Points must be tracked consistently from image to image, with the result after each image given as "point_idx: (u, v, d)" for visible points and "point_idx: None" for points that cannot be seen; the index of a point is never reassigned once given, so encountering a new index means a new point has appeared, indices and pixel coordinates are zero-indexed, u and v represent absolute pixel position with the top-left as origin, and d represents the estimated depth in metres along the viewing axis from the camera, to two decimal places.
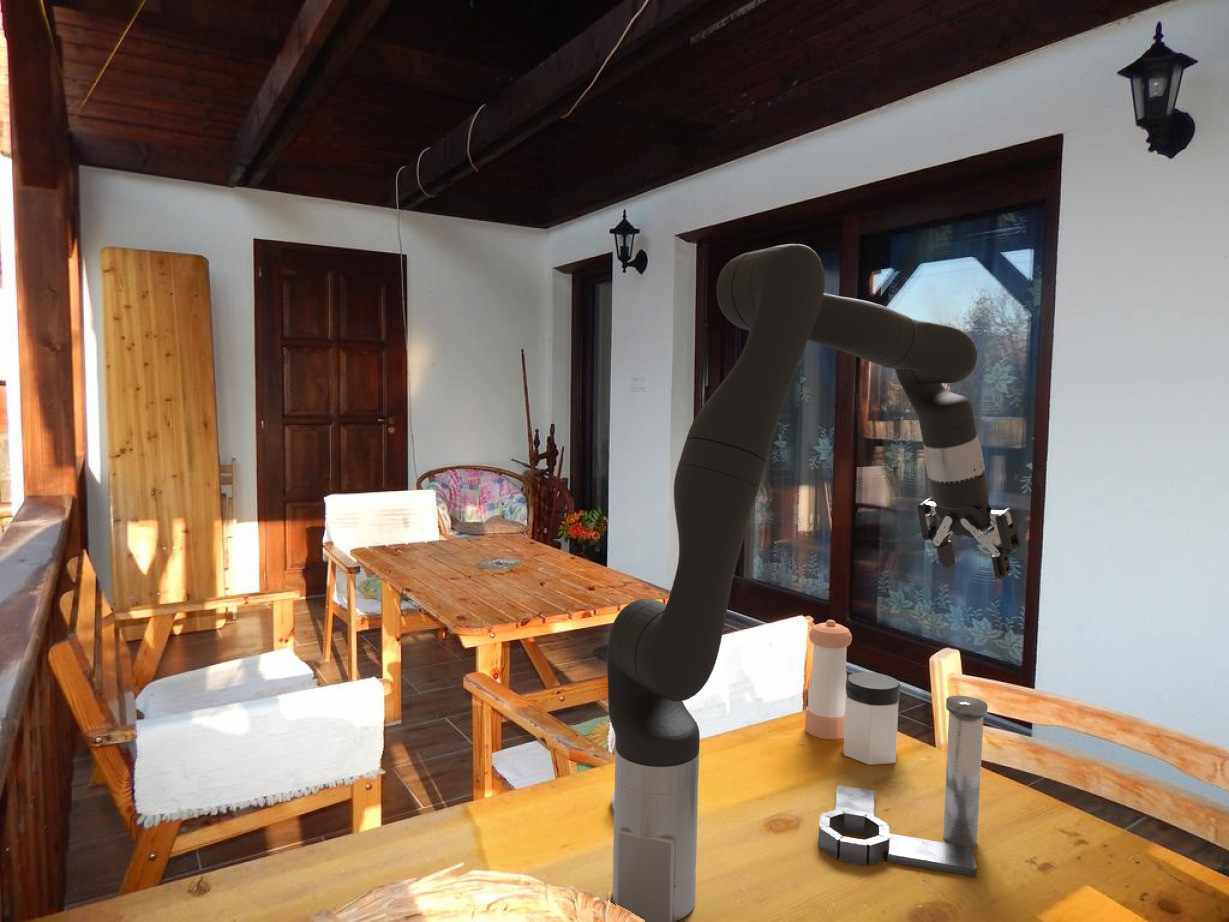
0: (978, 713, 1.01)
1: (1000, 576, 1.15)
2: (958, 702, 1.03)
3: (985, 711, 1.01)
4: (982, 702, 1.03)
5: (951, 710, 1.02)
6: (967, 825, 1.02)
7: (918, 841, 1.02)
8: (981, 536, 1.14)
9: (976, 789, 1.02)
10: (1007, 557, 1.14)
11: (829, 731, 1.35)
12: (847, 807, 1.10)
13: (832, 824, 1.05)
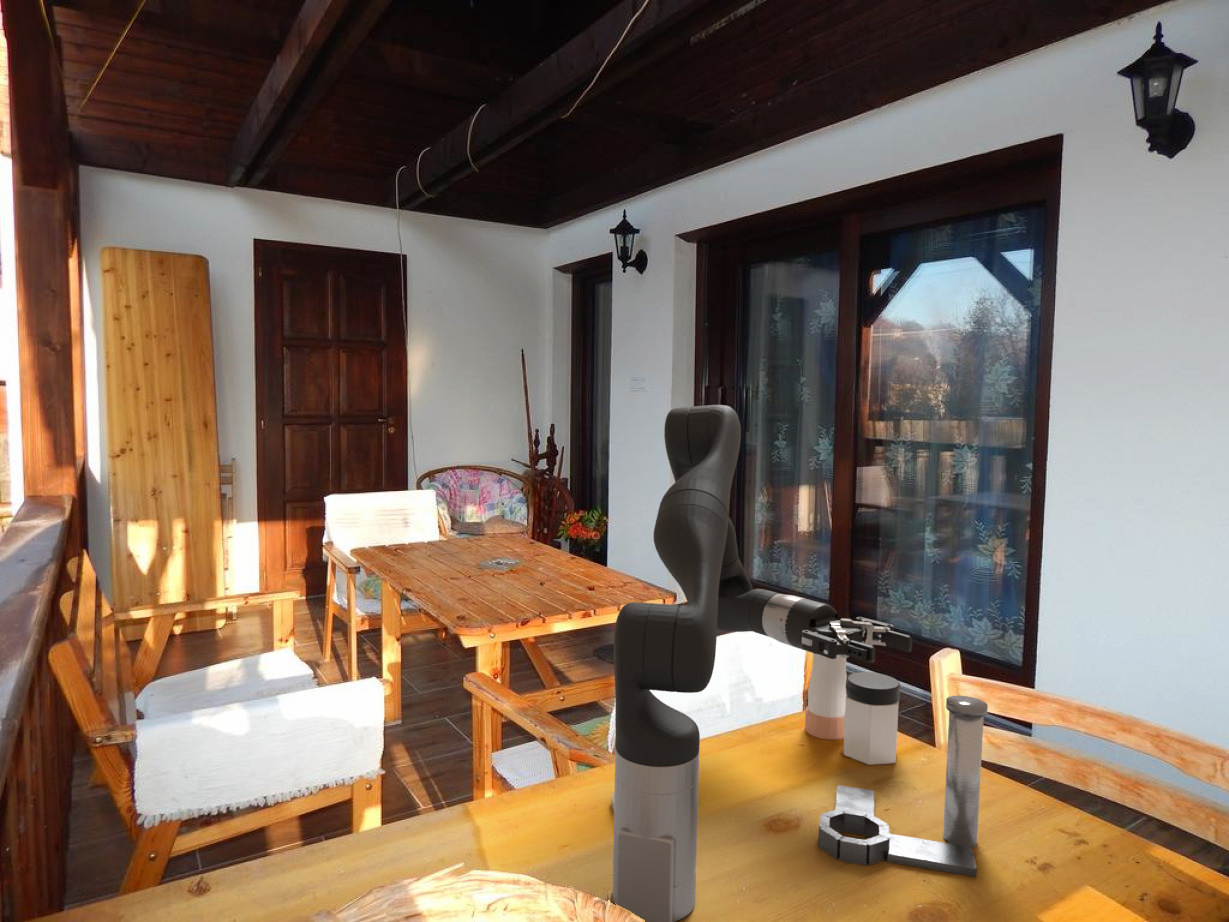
0: (978, 713, 1.01)
1: None
2: (958, 702, 1.03)
3: (985, 711, 1.01)
4: (982, 702, 1.03)
5: (951, 710, 1.02)
6: (967, 825, 1.02)
7: (918, 841, 1.02)
8: (865, 622, 1.19)
9: (976, 789, 1.02)
10: None
11: (829, 731, 1.35)
12: (847, 807, 1.10)
13: (832, 824, 1.05)
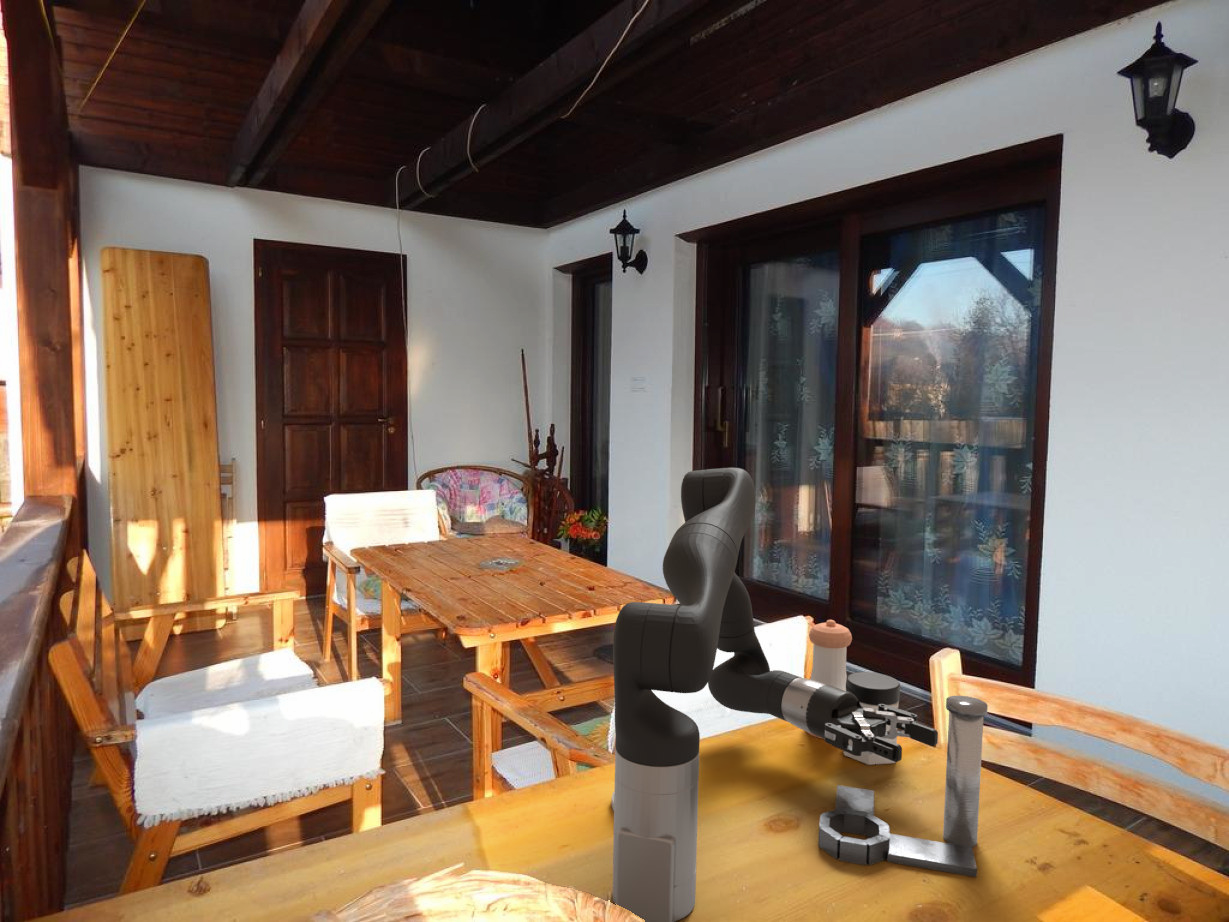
0: (978, 713, 1.01)
1: None
2: (958, 702, 1.03)
3: (985, 711, 1.01)
4: (982, 702, 1.03)
5: (951, 710, 1.02)
6: (967, 825, 1.02)
7: (918, 841, 1.02)
8: (888, 712, 1.16)
9: (976, 789, 1.02)
10: None
11: None
12: (847, 807, 1.10)
13: (832, 824, 1.05)
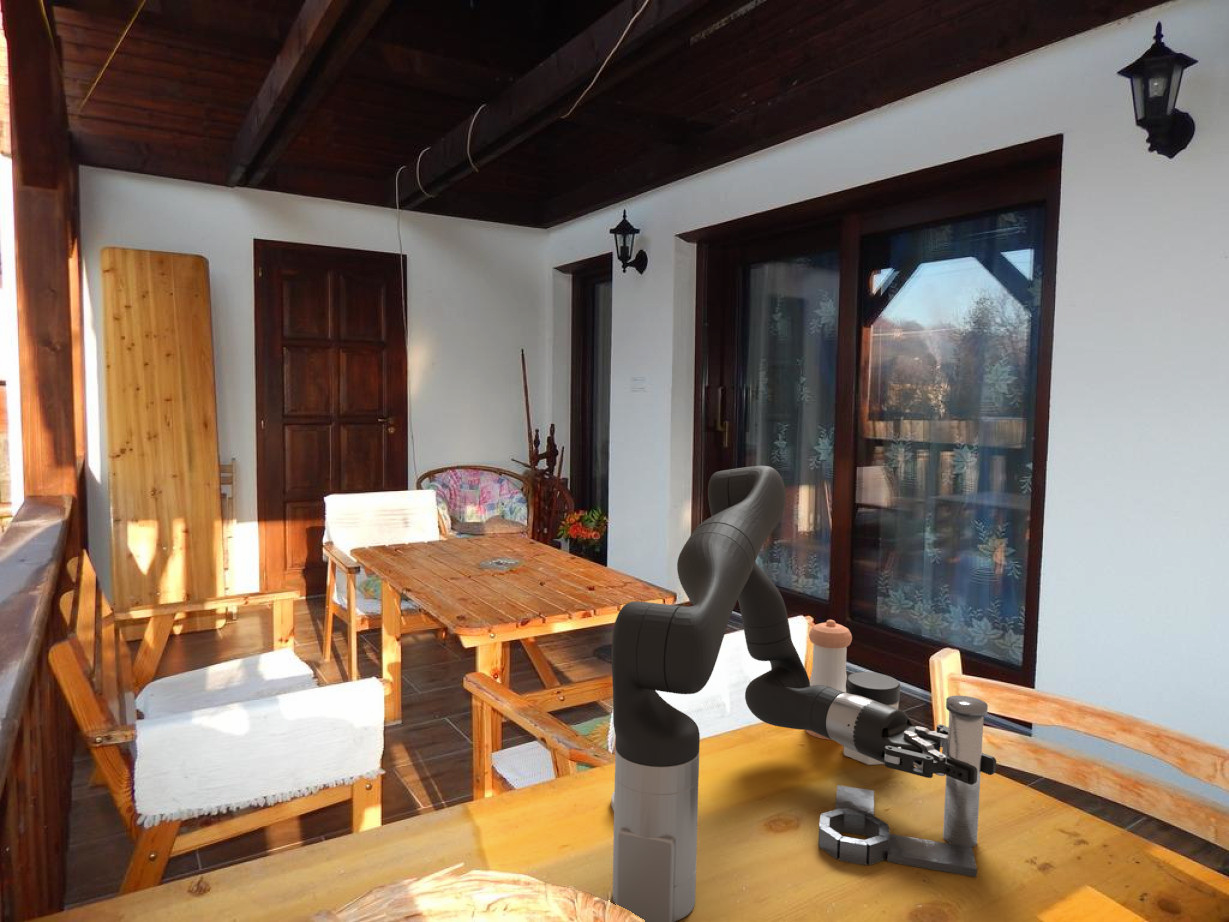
0: (978, 713, 1.01)
1: None
2: (958, 702, 1.03)
3: (985, 711, 1.01)
4: (982, 702, 1.03)
5: (951, 710, 1.02)
6: (967, 825, 1.02)
7: (918, 841, 1.02)
8: (942, 734, 1.09)
9: (976, 789, 1.02)
10: None
11: None
12: (847, 807, 1.10)
13: (832, 824, 1.05)
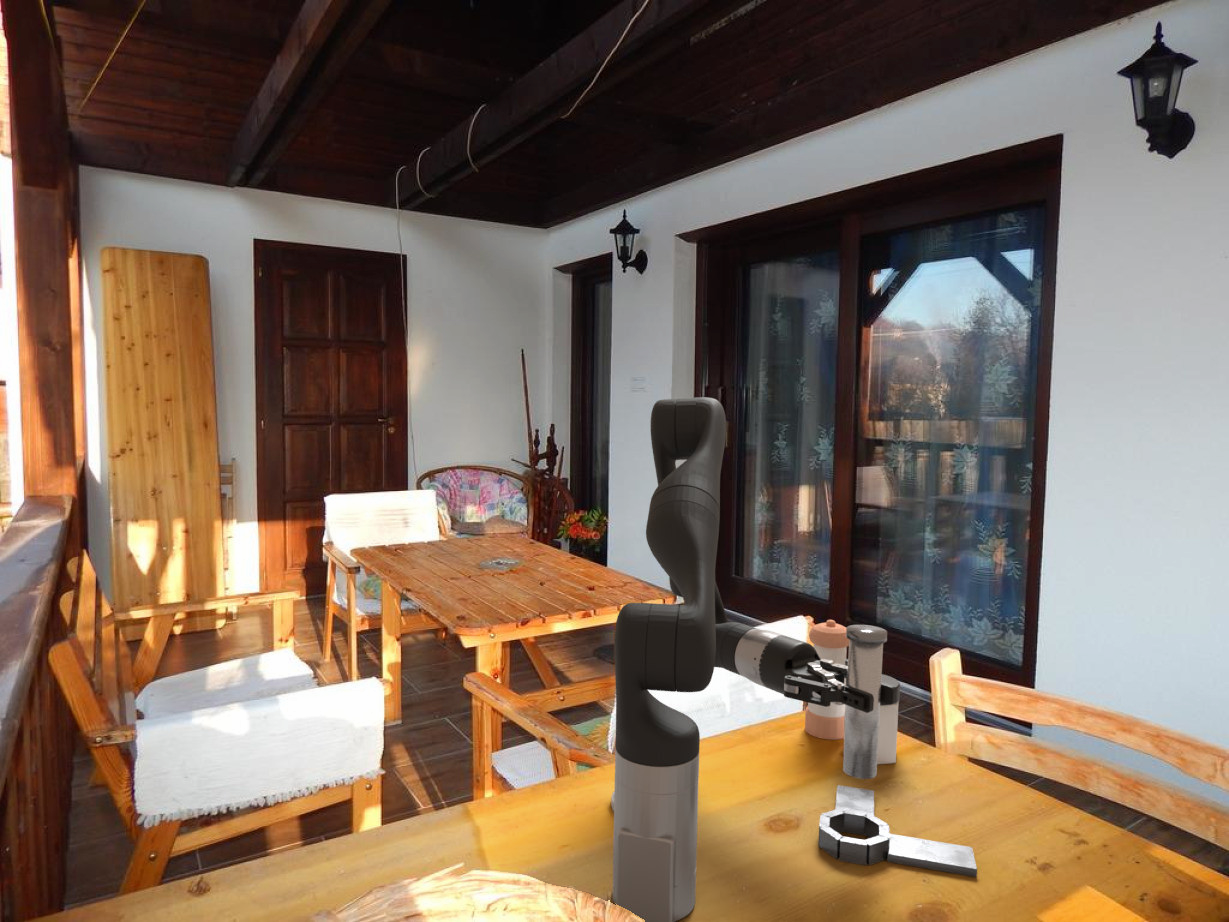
0: (876, 639, 0.98)
1: None
2: (858, 629, 1.00)
3: (884, 638, 0.98)
4: (882, 630, 1.00)
5: (850, 637, 0.99)
6: (865, 756, 0.99)
7: (918, 841, 1.02)
8: (847, 666, 1.06)
9: (874, 718, 0.99)
10: None
11: (829, 731, 1.35)
12: (847, 807, 1.10)
13: (832, 824, 1.05)
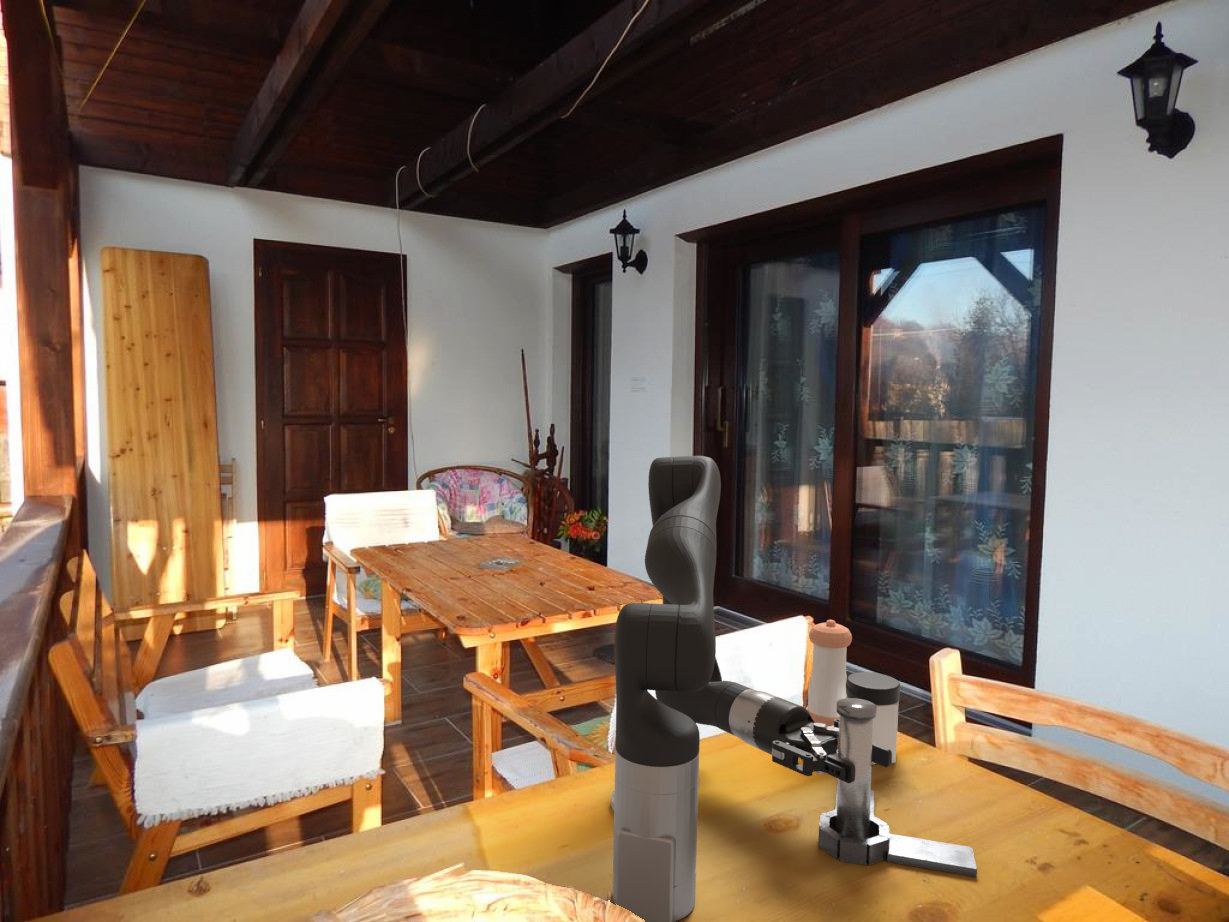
0: (866, 715, 0.99)
1: None
2: (848, 704, 1.02)
3: (873, 713, 1.00)
4: (872, 704, 1.02)
5: (840, 713, 1.01)
6: (857, 830, 1.00)
7: (918, 841, 1.02)
8: None
9: (865, 793, 1.00)
10: None
11: None
12: None
13: (832, 824, 1.05)
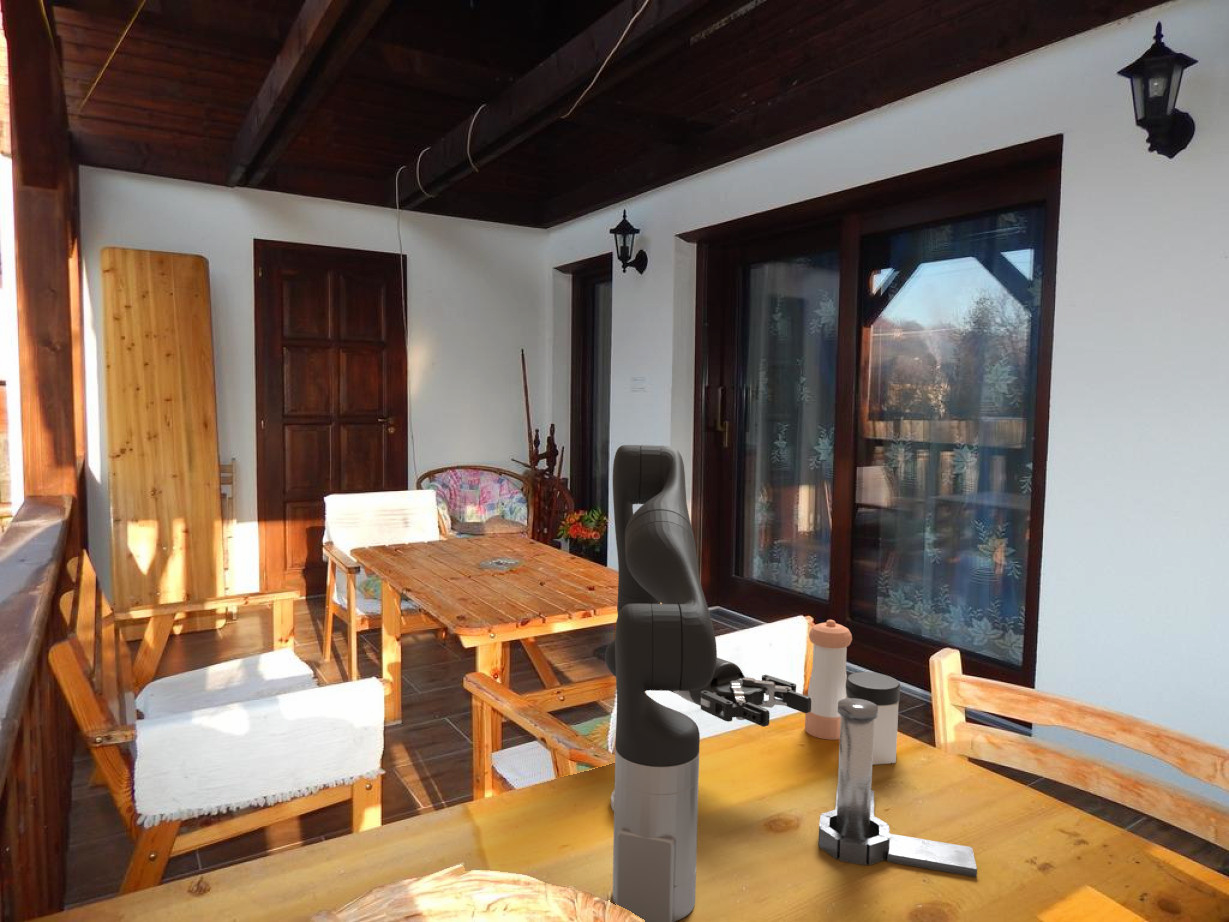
0: (867, 716, 0.99)
1: None
2: (849, 704, 1.01)
3: (874, 714, 1.00)
4: (873, 705, 1.01)
5: (841, 713, 1.01)
6: (857, 830, 1.00)
7: (918, 841, 1.02)
8: (767, 681, 1.17)
9: (866, 793, 1.00)
10: None
11: (829, 731, 1.35)
12: None
13: (832, 824, 1.05)
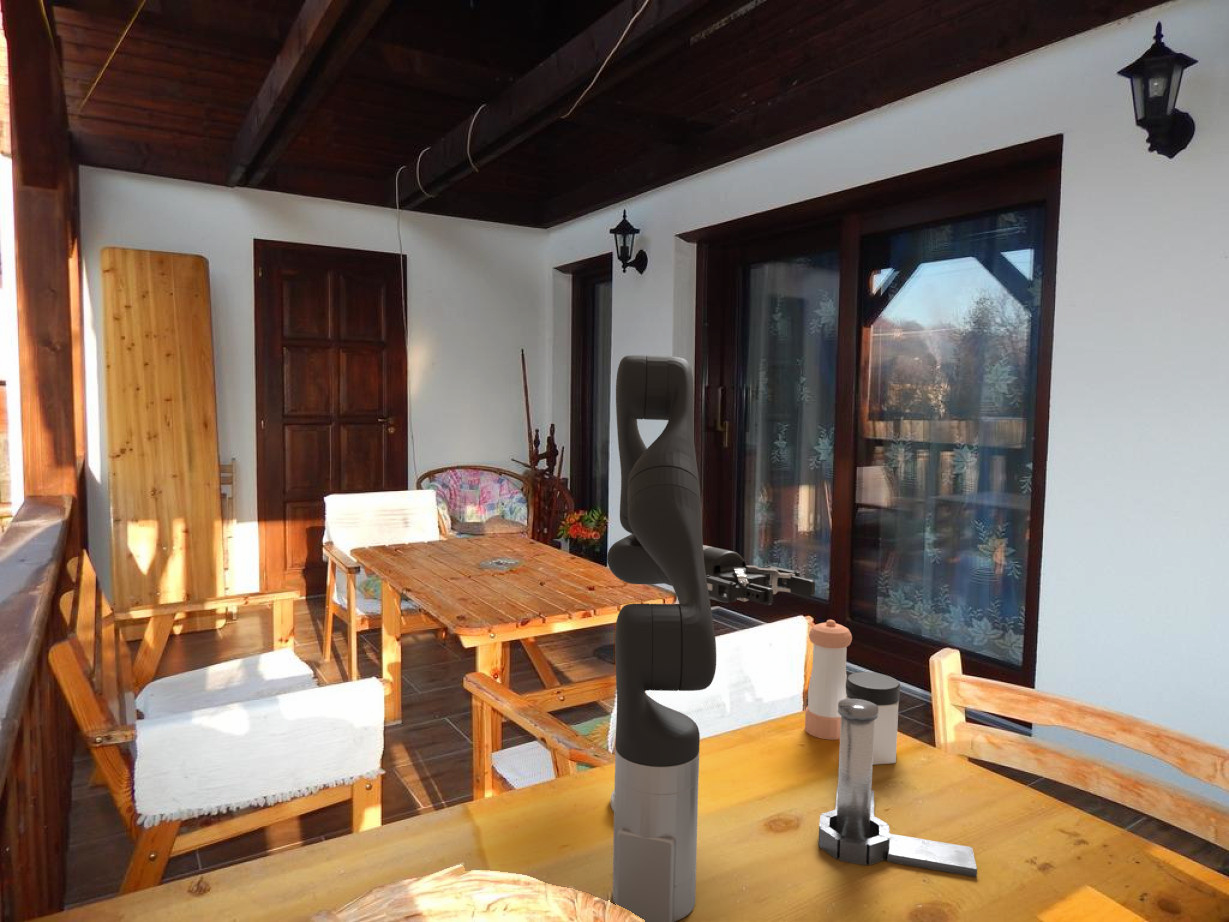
0: (868, 716, 0.99)
1: None
2: (849, 705, 1.01)
3: (875, 715, 1.00)
4: (874, 705, 1.01)
5: (841, 714, 1.00)
6: (857, 830, 1.00)
7: (918, 841, 1.02)
8: (770, 568, 1.17)
9: (866, 793, 1.00)
10: None
11: (829, 731, 1.35)
12: None
13: (832, 824, 1.05)
